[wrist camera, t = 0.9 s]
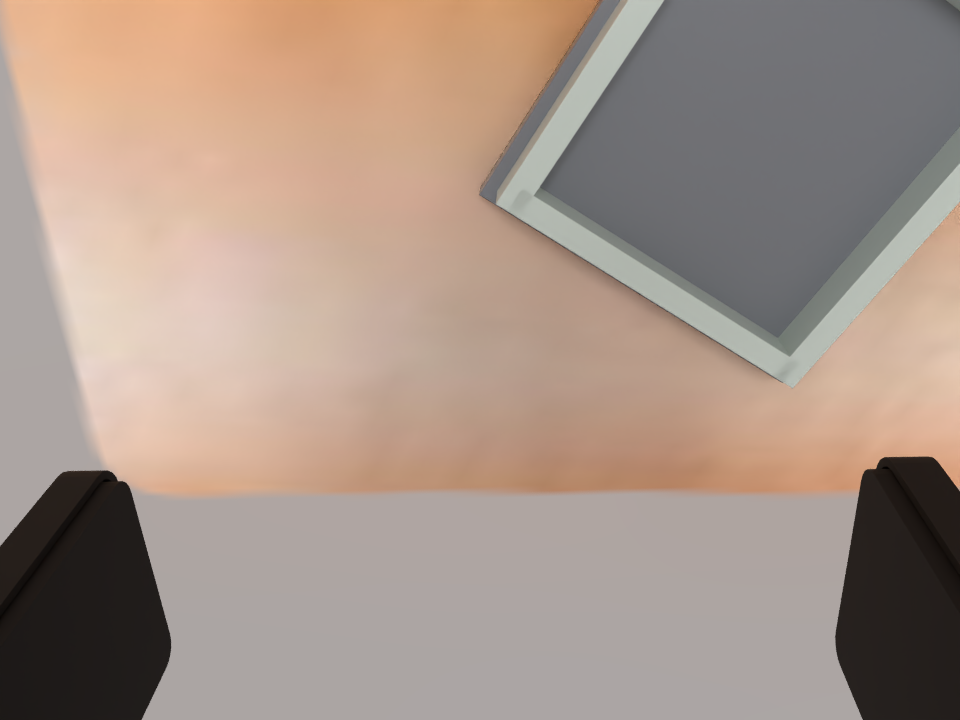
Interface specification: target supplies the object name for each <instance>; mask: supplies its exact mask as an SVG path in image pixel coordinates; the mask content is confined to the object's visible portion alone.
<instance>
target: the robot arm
mask: <svg viewBox="0 0 960 720" xmlns="http://www.w3.org/2000/svg"><path fill="white" fill-rule="evenodd" d="M835 638H836V652H837V656H838V660H839V663H840V666H841V668H842V671H843V673H844V675H845V678H846V681H847V683H848V685H849V688H850V690H851V692H852V695H853V697H854V700H855V702H856V704H857V707H858V709H859V712H860V714H861V717H862V719H863V720H960V491H959V490H958V488H957V487H956V486H955V484H954V483H953V482H952V480H951V479H950V478H949V476H948V475H947V474H946V472H945V471H944V469H943V468H942V467H941V465H940V464H939V463H938V462H937V461H936V460H935V459H934V458H932V457H884V458H882V459H881V460H880V461H879V463H878V465H877V468H876V469H867V470H866V471H865V472H864V474H863V476H862V480H861V485H860V491H859V497H858V503H857V509H856V515H855V521H854V527H853V533H852V539H851V545H850V551H849V557H848V562H847V568H846V574H845V580H844V586H843V592H842V598H841V604H840V610H839V616H838V622H837V628H836V636H835ZM170 652H171V637H170V633H169V629H168V625H167V622H166V618H165V615H164V611H163V607H162V603H161V600H160V596H159V592H158V589H157V585H156V581H155V578H154V574H153V570H152V567H151V563H150V559H149V556H148V552H147V548H146V545H145V541H144V537H143V534H142V530H141V527H140V523H139V519H138V516H137V512H136V508H135V504H134V501H133V497H132V493H131V490H130V488H129V486H128V485H127V483H125V482H123V481H117V478H116V476H115V475H114V474H113V473H112V472H110V471H67V472H63V473H62V474H60V475H59V476H58V477H57V478H56V479H55V481H54V482H53V483H52V484H51V486H50V487H49V488H48V489H47V490H46V492H45V493H44V494H43V495H42V497H41V498H40V499H39V500H38V501H37V502H36V504H35V505H34V506H33V507H32V509H31V510H30V511H29V512H28V513H27V515H26V516H25V517H24V518H23V519H22V521H21V522H20V523H19V524H18V526H17V527H16V528H15V529H14V530H13V531H12V533H11V534H10V535H9V536H8V538H7V539H6V540H5V541H4V543H3V544H2V545H1V546H0V720H142V718H143V715H144V713H145V711H146V709H147V707H148V705H149V703H150V701H151V699H152V697H153V694H154V692H155V690H156V688H157V686H158V684H159V682H160V680H161V677H162V676H163V673H164V671H165V669H166V667H167V664H168V662H169V657H170Z"/></svg>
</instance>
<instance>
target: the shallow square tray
mask: <svg viewBox="0 0 960 720" xmlns="http://www.w3.org/2000/svg"><path fill="white" fill-rule="evenodd" d="M479 195H480V196H482V197H484V198H485V199H487V200H489V201H490V202H492V203H493V204H495V205H497V206H498V207H500V208H501V209H503V210H505V211H506V212H508V213H509V214H511V215H513V216H514V217H516V218H518V219H519V220H521V221H522V222H524V223H526V224H527V225H529V226H530V227H532V228H534V229H535V230H537V231H538V232H540V233H542V234H543V235H545V236H547V237H548V238H550V239H551V240H553V241H555V242H556V243H558V244H559V245H561V246H563V247H564V248H566V249H567V250H569V251H571V252H572V253H574V254H576V255H577V256H579V257H580V258H582V259H584V260H585V261H587V262H588V263H590V264H592V265H593V266H595V267H596V268H598V269H600V270H601V271H603V272H605V273H606V274H608V275H609V276H611V277H613V278H614V279H616V280H617V281H619V282H621V283H622V284H624V285H625V286H627V287H629V288H630V289H632V290H634V291H635V292H637V293H638V294H640V295H642V296H643V297H645V298H646V299H648V300H650V301H651V302H653V303H654V304H656V305H658V306H659V307H661V308H662V309H664V310H666V311H667V312H669V313H671V314H672V315H674V316H675V317H677V318H679V319H680V320H682V321H683V322H685V323H687V324H688V325H690V326H691V327H693V328H695V329H696V330H698V331H700V332H701V333H703V334H704V335H706V336H708V337H709V338H711V339H712V340H714V341H716V342H717V343H719V344H720V345H722V346H724V347H725V348H727V349H729V350H730V351H732V352H733V353H735V354H737V355H738V356H740V357H741V358H743V359H745V360H746V361H748V362H749V363H751V364H753V365H754V366H756V367H758V368H759V369H761V370H762V371H764V372H766V373H767V374H769V375H770V376H772V377H774V378H775V379H777V380H778V381H780V382H782V383H785V384H787V385H788V386H790V387H791V388H793V387H794V386H795V385H796V384H797V383H798V382H799V381H800V380H801V378H802V377H803V376H804V375H805V374H806V373H807V372H808V371H809V369H810V368H811V367H812V366H813V365H814V364H815V363H816V362H817V361H818V359H819V358H820V357H821V356H822V355H823V354H824V353H825V352H826V350H827V349H828V348H829V347H830V346H831V345H832V344H833V343H834V342H835V340H836V339H837V338H838V337H839V336H840V335H841V334H842V333H843V332H844V330H845V329H846V328H847V327H848V326H849V325H850V324H851V323H852V321H853V320H854V319H855V318H856V317H857V316H858V315H859V314H860V313H861V311H862V310H863V309H864V308H865V307H866V306H867V305H868V304H869V302H870V301H871V300H872V299H873V298H874V297H875V296H876V295H877V294H878V292H879V291H880V290H881V289H882V288H883V287H884V286H885V285H886V284H887V282H888V281H889V280H890V279H891V278H892V277H893V276H894V275H895V273H896V272H897V271H898V270H899V269H900V268H901V267H902V266H903V265H904V263H905V262H906V261H907V260H908V259H909V258H910V257H911V256H912V254H913V253H914V252H915V251H916V250H917V249H918V248H919V247H920V246H921V244H922V243H923V242H924V241H925V240H926V239H927V238H928V237H929V236H930V234H931V233H932V232H933V231H934V230H935V229H936V228H937V227H938V225H939V224H940V223H941V222H942V221H943V220H944V219H945V218H946V217H947V215H948V214H949V213H950V212H951V211H952V210H953V209H954V208H955V206H956V205H957V204H958V203H959V202H960V0H600V1H599V2H598V4H597V5H596V7H595V9H594V10H593V12H592V13H591V15H590V16H589V18H588V20H587V21H586V23H585V24H584V26H583V27H582V29H581V31H580V32H579V34H578V35H577V37H576V38H575V40H574V42H573V43H572V45H571V46H570V48H569V49H568V51H567V53H566V54H565V56H564V57H563V59H562V60H561V62H560V64H559V65H558V67H557V68H556V70H555V71H554V73H553V75H552V76H551V78H550V79H549V81H548V82H547V84H546V86H545V87H544V89H543V90H542V92H541V93H540V95H539V97H538V98H537V100H536V101H535V103H534V104H533V106H532V108H531V109H530V111H529V112H528V114H527V115H526V117H525V119H524V120H523V122H522V123H521V125H520V126H519V128H518V130H517V131H516V133H515V134H514V136H513V137H512V139H511V141H510V142H509V144H508V145H507V147H506V148H505V150H504V152H503V153H502V155H501V156H500V158H499V159H498V161H497V163H496V164H495V166H494V167H493V169H492V170H491V172H490V174H489V175H488V177H487V178H486V180H485V181H484V183H483V185H482V186H481V188H480V194H479Z"/></svg>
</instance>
